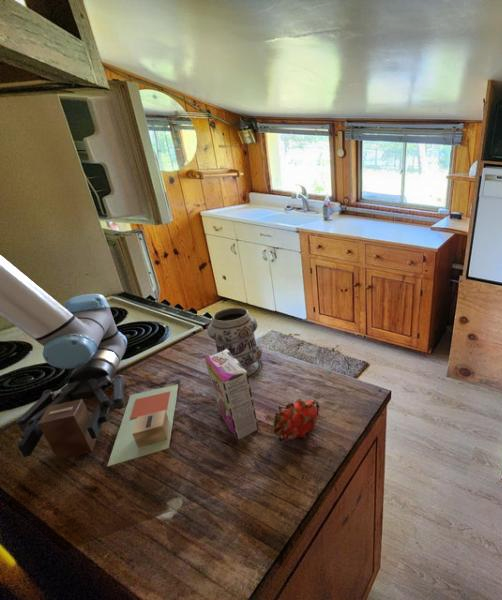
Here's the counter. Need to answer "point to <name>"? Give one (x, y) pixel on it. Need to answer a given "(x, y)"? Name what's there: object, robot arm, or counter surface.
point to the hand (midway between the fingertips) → (59, 441)
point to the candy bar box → (232, 393)
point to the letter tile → (151, 428)
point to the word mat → (136, 407)
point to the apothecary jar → (237, 337)
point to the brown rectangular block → (67, 429)
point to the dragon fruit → (296, 419)
